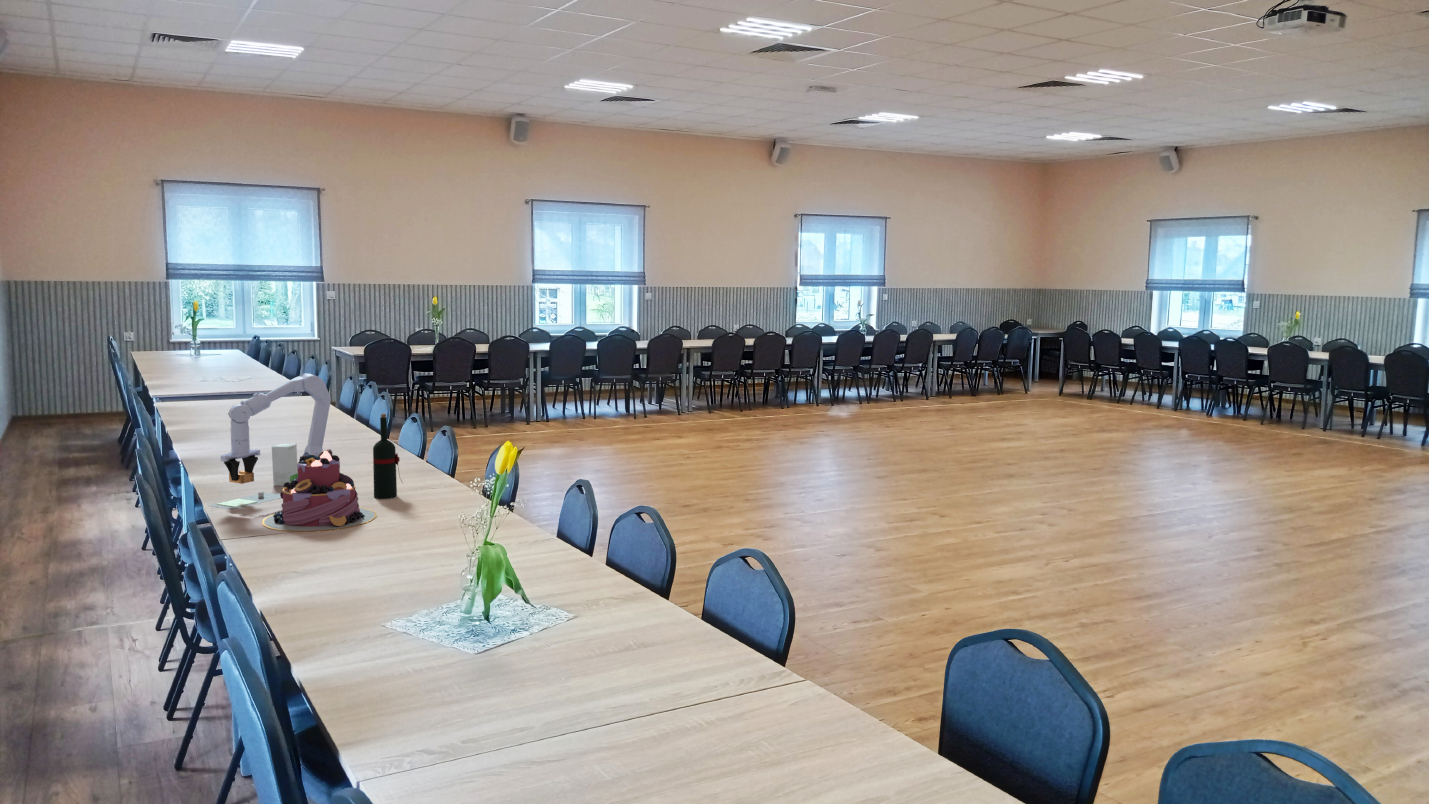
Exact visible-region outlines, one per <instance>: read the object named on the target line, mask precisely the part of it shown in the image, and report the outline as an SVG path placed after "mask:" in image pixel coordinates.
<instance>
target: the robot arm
mask: <svg viewBox="0 0 1429 804" xmlns="http://www.w3.org/2000/svg"><path fill="white" fill-rule="evenodd" d="M293 392H295V393H296V392H297V393H299V392H300V393H304V392H306V393H307V394H309V396H310V397H311V398H312V399H313V401H314V405H313V406H314V408H313V411H312V417H311V423H310V429H309V432H308V433H309V435H308V440H307V445H306V447H305V448H304V452H303V454H302V455H301V456H305V455H307V456H308V455H310V454H313V455H314V456H315V457H316V456H319V454H320V453H321V452H324V451H323V450H324V449H323V445H324V439H325V433H326V429H327V422H328V419H329V418H328V417H329V414H330V413H329V411H330V406H331V401H332V400H331V399H332V398H331V395H330V393H329V390H328V388H327V386H326V382H325V381H324V380H323V379H322V378H320V376H319V375H315V374H312V373H310V372H305V373H303V374H301V375H298V376H296V377H294V378H292V379H290V380H288V381H286V382H285V383H283V384H281V385H279V386H278V387H276V388H274V389H273V390H271V391H269V392H266V393H263V392H259V393H257V392H255V393H253V395H252V397H249V398H247V399H246V400H241V401H239V403H240V404H238V403H237V404H234V405H232V406H231V407H230V409H229V411H228V413H227V415H228V417H229V418H230V446H231V447H230V448H231V451H230V453H229V452H228V453H226V454H221V455H220V462H223V464H224V465H225V467H226V469H227V470H228V472H229V473H230V476H231V479H232V480H233V481H238V474H239V469H240V463H241V461H238V460H239V459H241V460H242V463H243V468H244V471H246V472H253V471H254V469H255V465H256V463H257V462H258V459H259V457H258V456H261V449H258V448H257V449H251V448H250V426H249V421H250V417H253V416H256V415H258V414H259V413H261V412H263V411H265V410H267V409H269V408H270V407H271V404H272V402H274V401H277V400H278V399H281V398H282V397H284V396H287V395H289V394H291V393H293ZM229 473H228V474H229ZM253 473H254V472H253Z"/></svg>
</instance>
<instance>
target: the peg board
mask: <svg viewBox="0 0 1429 804" xmlns="http://www.w3.org/2000/svg"><path fill="white" fill-rule="evenodd" d="M278 499H282V498H281V496H280V493H272V492H264V491H258V492H257V493H255V494H252V495H247V496H242V497H239V498H233V499H230V500H226V501H221V502H217V503H213V504H207V507H212V508H213V507H214V508H219V509H220V508H221V509H226V510H237V509H241V508H246V507H250V506H254V505H259V504H261V503H266V502H271V501H275V500H278Z"/></svg>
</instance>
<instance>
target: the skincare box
mask: <svg viewBox="0 0 1429 804" xmlns="http://www.w3.org/2000/svg"><path fill="white" fill-rule="evenodd" d="M297 446H298V445H297V443H279V444H275V445H273V446H271V457H272V458H271V460H272V462H271V463H272V479H273V480H272V482H273V483H272V484H273V486H279V487H281V486H282V487H284V484H285V483H286V482H289V483H291V481H292V480H294V479H296V478H297V477H298V470H297V463H298V448H297Z"/></svg>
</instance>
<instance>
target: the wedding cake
mask: <svg viewBox="0 0 1429 804" xmlns="http://www.w3.org/2000/svg"><path fill="white" fill-rule="evenodd" d="M340 468H341V462H340V457H339V456H338V455H336V454H333V451H332V449H330V448H329V449H326V450H324V451H323V452H321V453H320V454H319V456H316V457H315V456H314V455H313V454H310V455H308V456H307V455H305V456H302V455H301V456H299V459H298V461H297V470H298V477H297V478H296V479H294V480H292V481H291V483H289V482H286V483H285V484H284V486H283V488H282V491H281V492H280V493H279V494H280V496H281V498H280V499H282V503H281V504H280V505H281V509H282V510H279V511H277V512H276V513H274V514H271V515H269V516H266V517H265V518H263V520H261V521H262V522H261V524H262V526H263V527H265V528H266V529H270V530H274V531H278V532H285V533H286V532H288V533H289V532H290V533H317V531H320V532H330V530H331V531H338V530H337V529H339V530H344V529H345V530H346V529H350V527H351V528H355V527H358V526H362V525H366V524H368V523H370V522H372V521H373V520H375V519H376V518H377V517H378V516H377V512H376V511H374V510H373V509H370V508H365V507H361V506H360V505H359V497H358V495H359V494H358V492H357V490H356V484H355V482H354V480H353V479H352V478H351V476H349V475H347V474H343V473H342V472H340V471H341V469H340ZM367 522H368V523H367Z"/></svg>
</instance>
